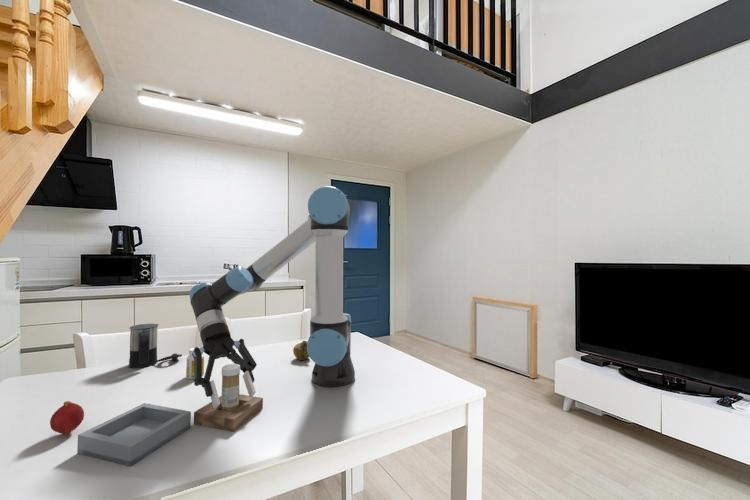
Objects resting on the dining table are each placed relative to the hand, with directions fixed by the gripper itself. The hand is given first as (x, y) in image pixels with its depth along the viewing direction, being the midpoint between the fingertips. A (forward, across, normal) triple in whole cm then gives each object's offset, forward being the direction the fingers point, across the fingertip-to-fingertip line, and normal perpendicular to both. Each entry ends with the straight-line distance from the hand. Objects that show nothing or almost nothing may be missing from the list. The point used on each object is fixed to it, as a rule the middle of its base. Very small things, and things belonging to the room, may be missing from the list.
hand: (235, 400), depth 83 cm
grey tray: (-2, +19, -9) cm, 21 cm away
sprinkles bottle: (+2, 0, -6) cm, 6 cm away
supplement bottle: (-24, -3, -31) cm, 39 cm away
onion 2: (-16, -40, -24) cm, 49 cm away
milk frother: (-41, +4, -49) cm, 64 cm away
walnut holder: (+1, 0, -6) cm, 6 cm away
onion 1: (-12, +30, -20) cm, 38 cm away
